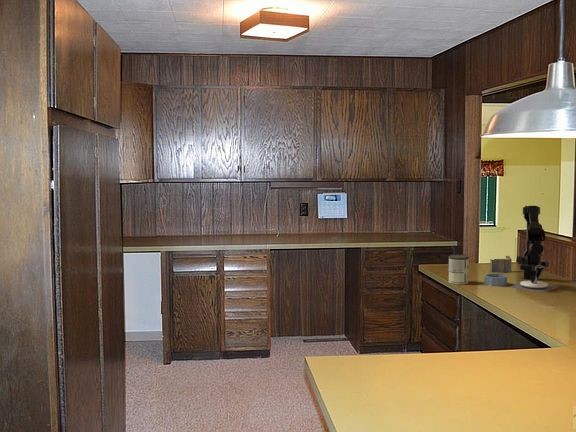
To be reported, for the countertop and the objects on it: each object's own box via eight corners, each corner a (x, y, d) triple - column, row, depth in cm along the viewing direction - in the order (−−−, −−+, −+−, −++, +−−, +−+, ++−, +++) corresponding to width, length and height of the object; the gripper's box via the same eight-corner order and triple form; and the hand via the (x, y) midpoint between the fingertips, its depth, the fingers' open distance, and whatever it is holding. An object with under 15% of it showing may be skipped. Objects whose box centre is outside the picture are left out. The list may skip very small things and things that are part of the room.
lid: (527, 281, 308) (528, 272, 307) (552, 285, 298) (552, 276, 298) (515, 285, 299) (515, 276, 299) (540, 289, 289) (540, 280, 289)
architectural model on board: (509, 271, 344) (509, 255, 343) (511, 272, 341) (511, 256, 340) (489, 272, 344) (490, 255, 343) (491, 273, 341) (492, 256, 340)
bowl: (491, 282, 315) (491, 272, 314) (510, 285, 306) (511, 275, 306) (480, 285, 308) (480, 275, 307) (499, 288, 299) (500, 278, 299)
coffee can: (446, 280, 320) (447, 254, 319) (466, 280, 319) (466, 254, 318) (449, 284, 310) (450, 257, 309) (470, 284, 309) (470, 257, 308)
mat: (525, 282, 311) (525, 281, 311) (559, 287, 298) (559, 286, 298) (508, 287, 300) (508, 286, 300) (542, 293, 286) (542, 292, 286)
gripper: (528, 247, 309) (527, 277, 311) (510, 251, 297) (509, 282, 298) (549, 250, 301) (548, 280, 302) (531, 254, 289) (530, 285, 290)
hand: (534, 282), depth 298 cm, fingers closed on lid, 3 cm apart
